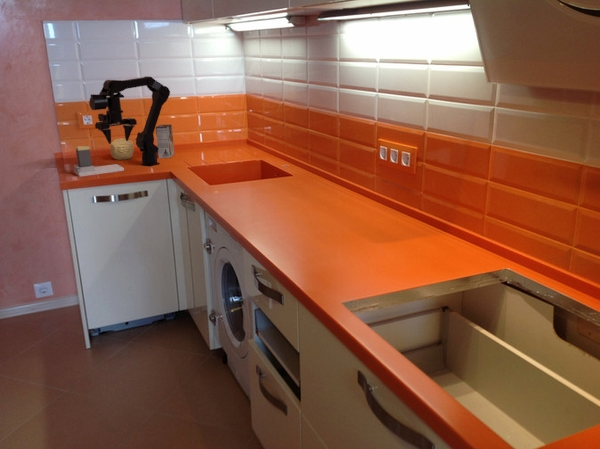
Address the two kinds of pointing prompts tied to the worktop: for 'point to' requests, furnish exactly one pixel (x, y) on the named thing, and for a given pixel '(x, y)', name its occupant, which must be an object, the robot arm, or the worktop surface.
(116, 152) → the sculpture
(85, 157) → the grey tall block
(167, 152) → the coffee box
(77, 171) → the notch board
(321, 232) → the worktop surface
